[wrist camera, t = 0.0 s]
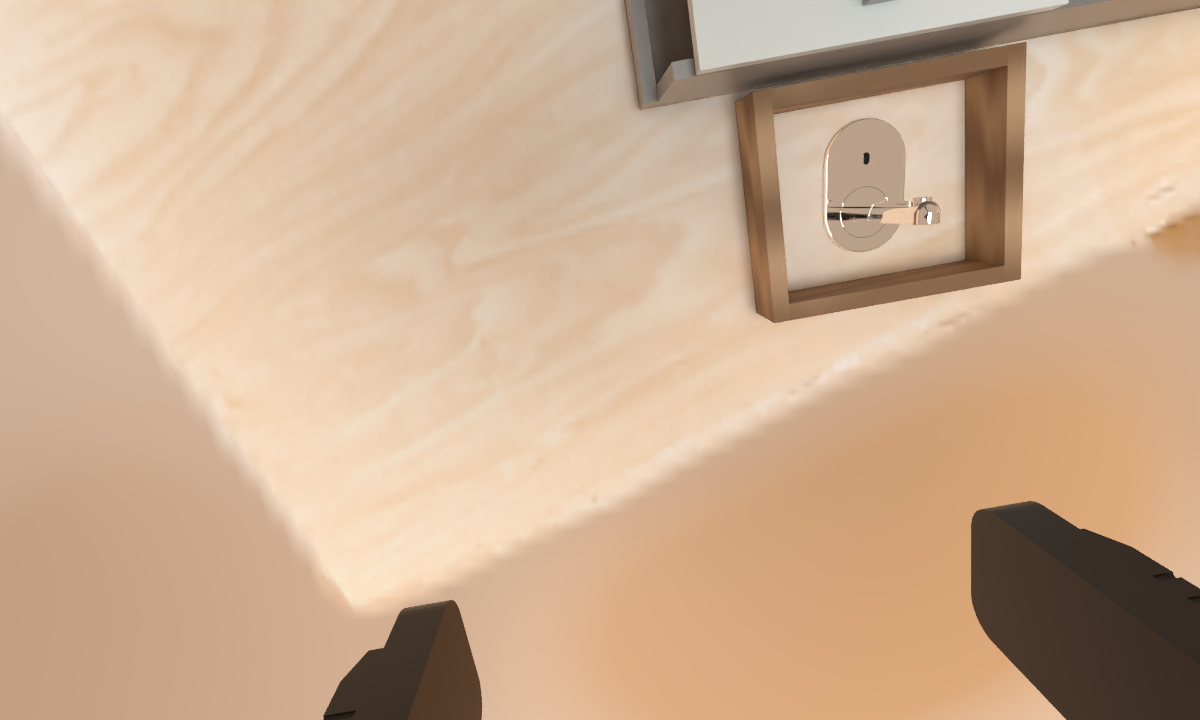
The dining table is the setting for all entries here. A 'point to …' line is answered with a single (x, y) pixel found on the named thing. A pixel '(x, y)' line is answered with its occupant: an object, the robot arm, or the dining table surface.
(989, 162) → the parts frame
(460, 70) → the dining table surface
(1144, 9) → the frame
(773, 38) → the lid
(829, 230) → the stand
